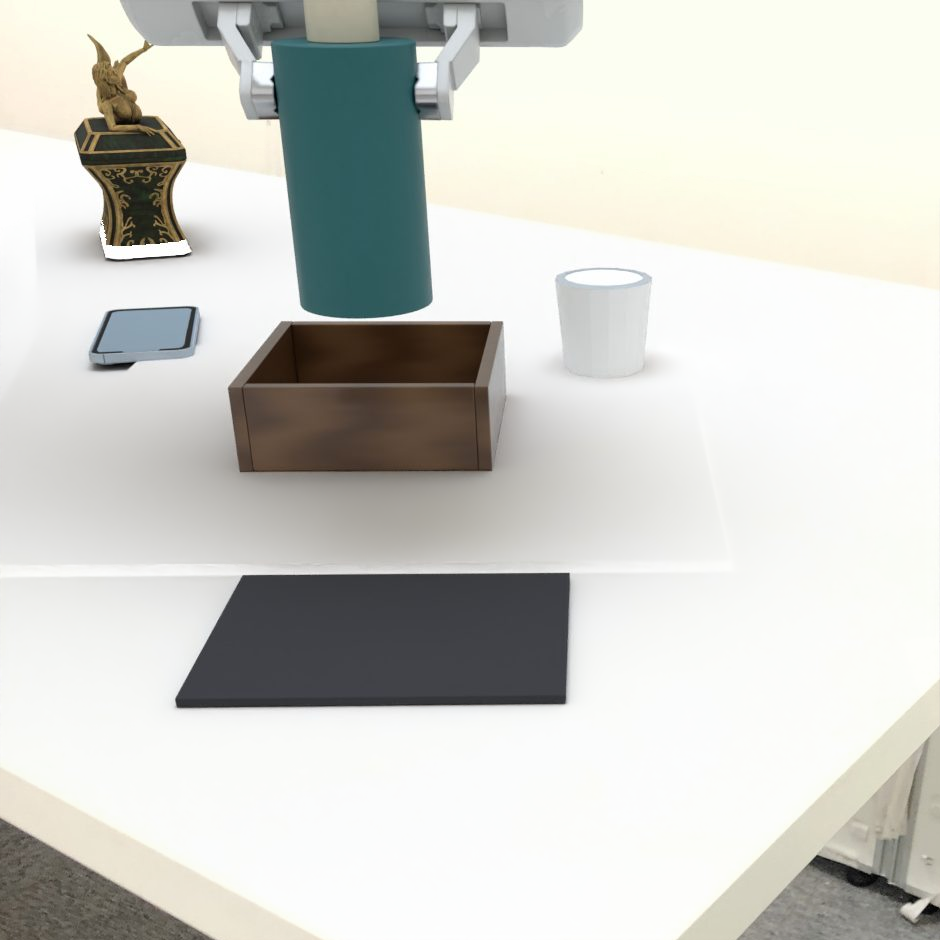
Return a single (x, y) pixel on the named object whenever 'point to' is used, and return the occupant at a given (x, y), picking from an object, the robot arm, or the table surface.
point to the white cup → (603, 320)
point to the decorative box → (130, 159)
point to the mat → (386, 641)
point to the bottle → (353, 164)
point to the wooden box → (371, 397)
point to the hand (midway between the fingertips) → (348, 111)
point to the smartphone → (145, 335)
